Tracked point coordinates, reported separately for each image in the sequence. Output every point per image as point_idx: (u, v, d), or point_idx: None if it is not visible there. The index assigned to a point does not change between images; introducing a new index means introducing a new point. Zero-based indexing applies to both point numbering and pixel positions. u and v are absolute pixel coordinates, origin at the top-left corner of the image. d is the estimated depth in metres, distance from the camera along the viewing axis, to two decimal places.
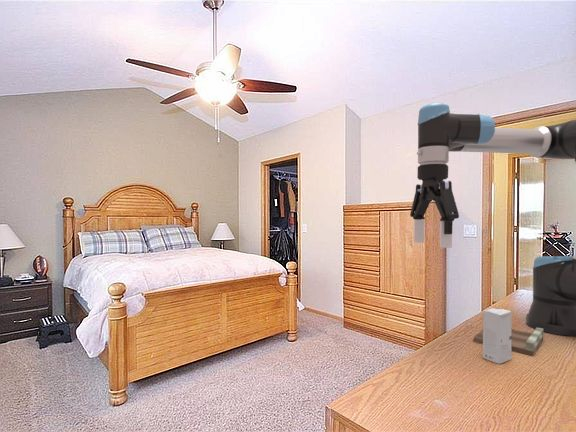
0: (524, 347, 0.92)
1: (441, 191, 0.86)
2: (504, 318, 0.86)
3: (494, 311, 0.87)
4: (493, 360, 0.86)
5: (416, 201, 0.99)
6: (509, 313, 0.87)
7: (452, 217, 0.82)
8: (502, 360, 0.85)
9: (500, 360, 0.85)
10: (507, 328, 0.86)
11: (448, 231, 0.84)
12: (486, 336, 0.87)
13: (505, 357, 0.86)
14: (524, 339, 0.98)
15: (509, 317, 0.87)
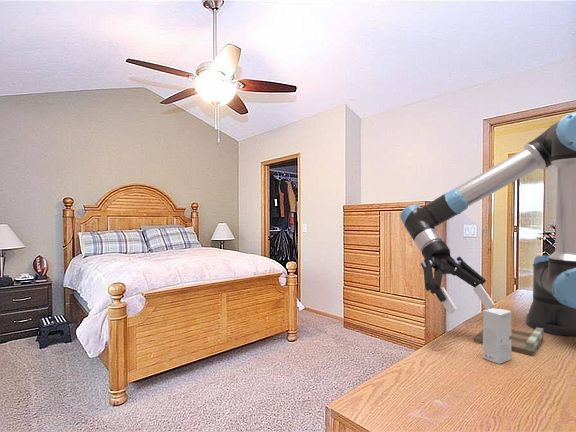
0: (524, 347, 0.92)
1: None
2: (504, 318, 0.86)
3: (494, 311, 0.87)
4: (493, 360, 0.86)
5: None
6: (509, 313, 0.87)
7: (428, 288, 0.95)
8: (502, 360, 0.85)
9: (500, 360, 0.85)
10: (507, 328, 0.86)
11: (440, 298, 0.93)
12: (486, 336, 0.87)
13: (505, 357, 0.86)
14: (524, 339, 0.98)
15: (509, 317, 0.87)
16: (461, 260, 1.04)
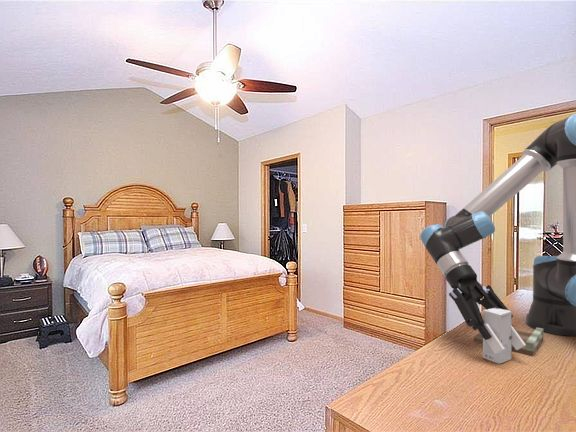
0: (524, 347, 0.92)
1: None
2: (504, 318, 0.86)
3: (494, 311, 0.87)
4: (493, 360, 0.86)
5: None
6: (509, 313, 0.87)
7: (471, 324, 0.87)
8: (502, 360, 0.85)
9: (500, 360, 0.85)
10: (507, 328, 0.86)
11: (484, 336, 0.85)
12: None
13: (505, 357, 0.86)
14: (524, 339, 0.98)
15: (509, 317, 0.87)
16: (490, 289, 0.96)
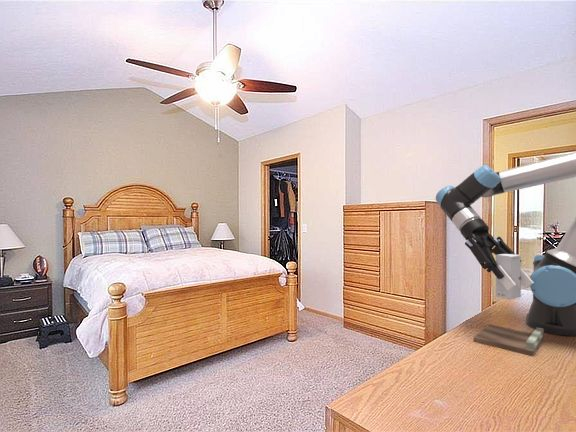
0: (524, 347, 0.92)
1: None
2: (514, 260, 0.98)
3: (505, 254, 0.99)
4: (505, 297, 0.97)
5: None
6: (518, 256, 0.99)
7: (485, 266, 0.99)
8: (513, 296, 0.97)
9: (512, 296, 0.96)
10: (517, 269, 0.98)
11: (497, 276, 0.97)
12: None
13: (516, 294, 0.98)
14: (524, 339, 0.98)
15: (519, 260, 0.99)
16: (500, 240, 1.08)
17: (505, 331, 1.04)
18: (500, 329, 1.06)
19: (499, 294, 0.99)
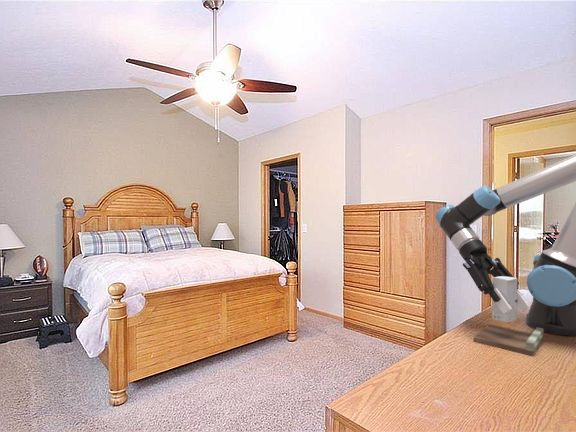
0: (524, 347, 0.92)
1: None
2: (511, 283, 0.99)
3: (502, 278, 1.00)
4: (501, 320, 0.99)
5: None
6: (515, 279, 1.00)
7: (482, 289, 1.00)
8: (509, 319, 0.98)
9: (507, 319, 0.98)
10: (514, 292, 0.99)
11: (494, 299, 0.98)
12: None
13: (512, 317, 0.99)
14: (524, 339, 0.98)
15: (515, 283, 1.00)
16: (499, 261, 1.09)
17: (505, 331, 1.04)
18: (500, 329, 1.06)
19: (495, 316, 1.00)
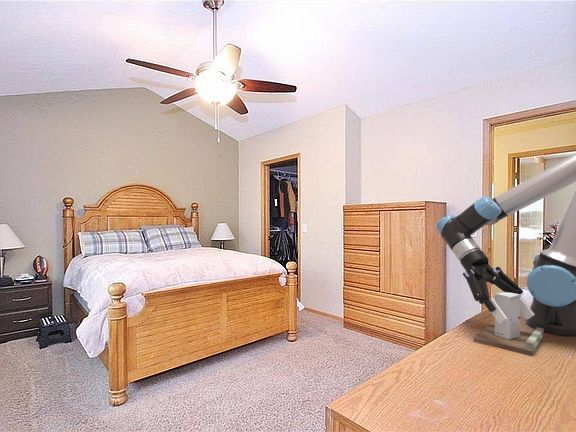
0: (524, 347, 0.92)
1: None
2: (513, 300, 0.98)
3: (505, 294, 1.00)
4: (504, 336, 0.98)
5: None
6: (518, 296, 1.00)
7: (478, 299, 0.99)
8: (512, 336, 0.98)
9: (510, 336, 0.97)
10: (516, 308, 0.99)
11: (489, 309, 0.98)
12: None
13: (514, 334, 0.98)
14: (524, 339, 0.98)
15: (518, 300, 1.00)
16: (500, 270, 1.09)
17: None
18: None
19: (498, 333, 1.00)
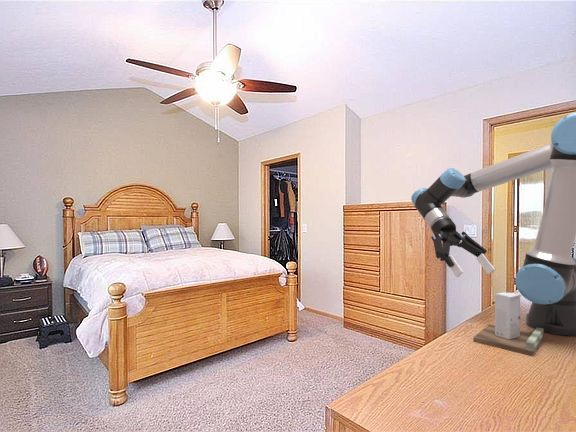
0: (524, 347, 0.92)
1: None
2: (513, 300, 0.98)
3: (505, 294, 1.00)
4: (504, 336, 0.98)
5: None
6: (518, 296, 1.00)
7: (438, 256, 1.11)
8: (512, 336, 0.98)
9: (510, 336, 0.97)
10: (516, 309, 0.99)
11: (448, 264, 1.10)
12: (498, 316, 1.00)
13: (514, 334, 0.98)
14: (524, 339, 0.98)
15: (518, 300, 1.00)
16: (465, 234, 1.21)
17: None
18: None
19: (498, 333, 1.00)
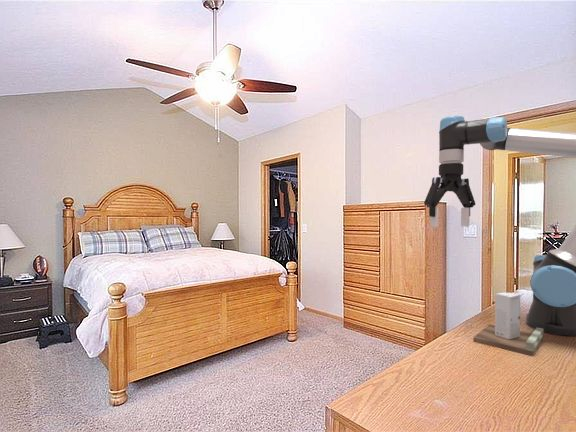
0: (524, 347, 0.92)
1: None
2: (513, 300, 0.98)
3: (505, 294, 1.00)
4: (504, 336, 0.98)
5: (463, 192, 1.21)
6: (518, 296, 1.00)
7: (426, 204, 1.14)
8: (512, 336, 0.98)
9: (510, 336, 0.97)
10: (516, 309, 0.99)
11: (430, 214, 1.15)
12: (498, 316, 1.00)
13: (514, 334, 0.98)
14: (524, 339, 0.98)
15: (518, 300, 1.00)
16: (467, 182, 1.19)
17: None
18: None
19: (498, 333, 1.00)
